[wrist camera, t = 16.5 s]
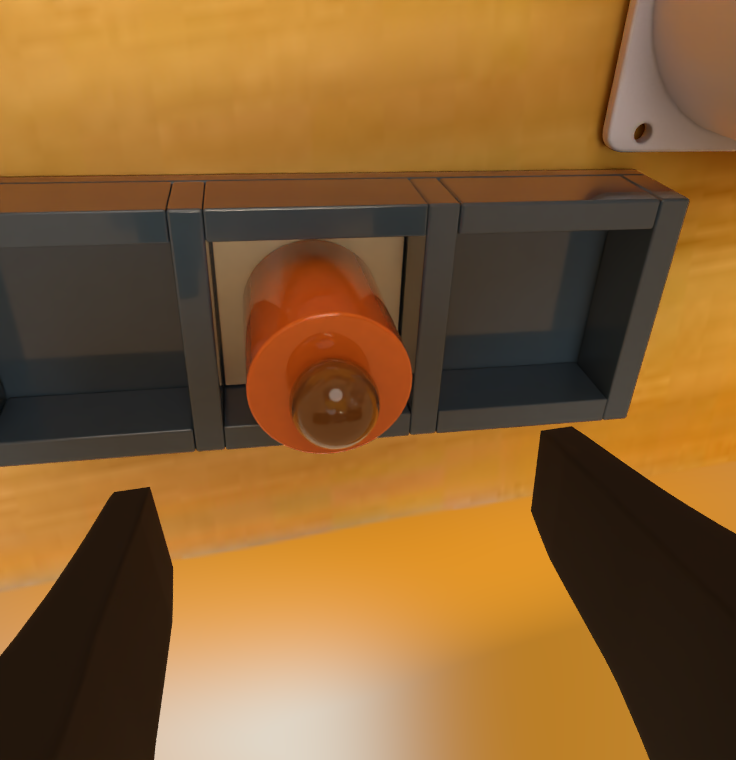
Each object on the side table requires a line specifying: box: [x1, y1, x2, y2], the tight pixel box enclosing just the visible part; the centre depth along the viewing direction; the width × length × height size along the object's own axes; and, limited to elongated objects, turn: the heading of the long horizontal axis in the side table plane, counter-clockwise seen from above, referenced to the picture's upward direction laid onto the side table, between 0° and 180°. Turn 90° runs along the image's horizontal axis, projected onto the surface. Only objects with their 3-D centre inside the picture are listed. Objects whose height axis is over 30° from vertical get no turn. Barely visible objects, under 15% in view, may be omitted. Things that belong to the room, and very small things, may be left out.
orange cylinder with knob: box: [242, 240, 412, 454], centre depth 16 cm, size 4×4×6 cm
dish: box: [0, 169, 689, 467], centre depth 18 cm, size 19×7×3 cm, turn 88°
